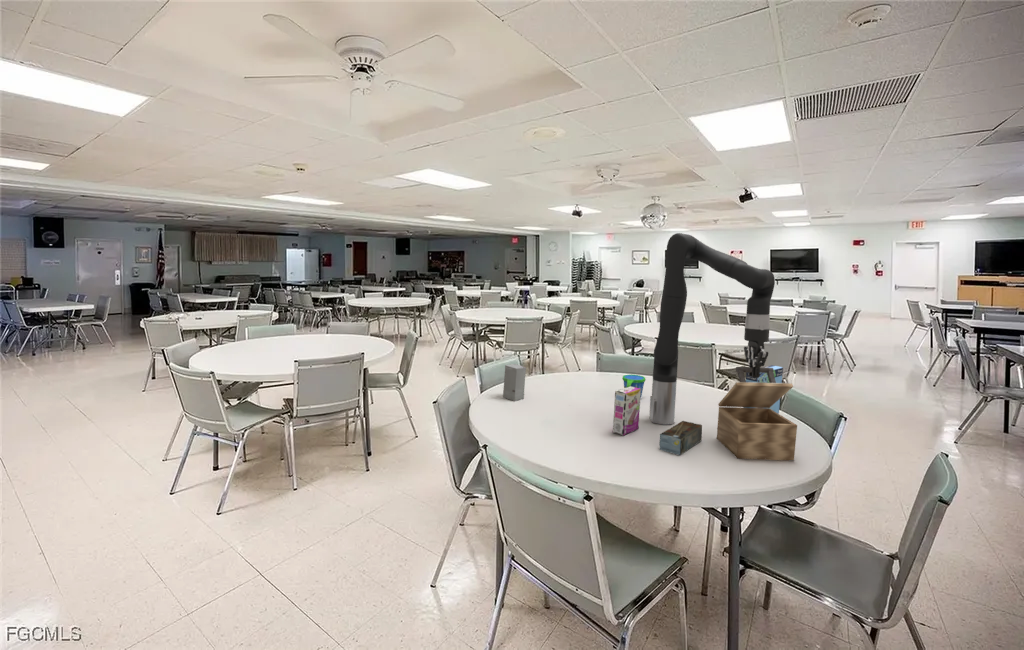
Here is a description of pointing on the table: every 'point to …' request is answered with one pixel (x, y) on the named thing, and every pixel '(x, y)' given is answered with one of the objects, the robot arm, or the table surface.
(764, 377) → the gum box
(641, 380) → the snack cup
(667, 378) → the robot arm
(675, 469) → the table surface
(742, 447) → the wooden box
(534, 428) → the table surface
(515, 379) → the skincare box
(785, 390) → the lid
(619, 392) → the candy bar box
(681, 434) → the beverage carton
